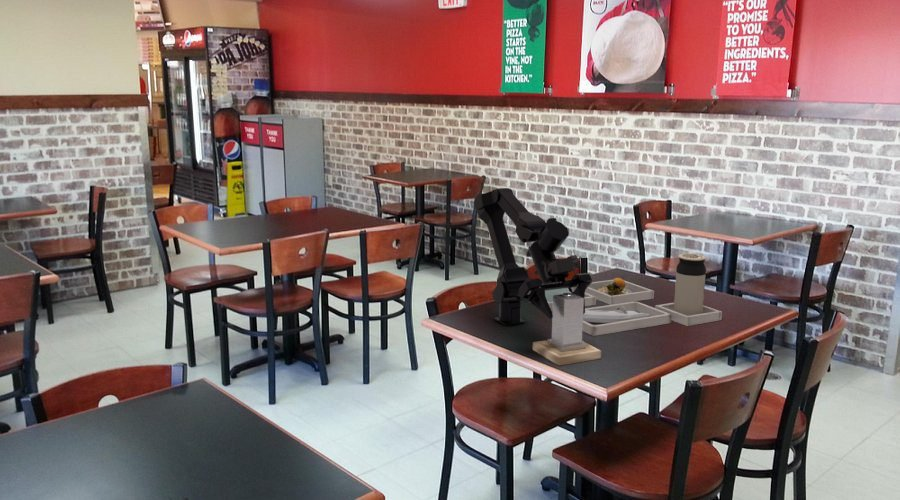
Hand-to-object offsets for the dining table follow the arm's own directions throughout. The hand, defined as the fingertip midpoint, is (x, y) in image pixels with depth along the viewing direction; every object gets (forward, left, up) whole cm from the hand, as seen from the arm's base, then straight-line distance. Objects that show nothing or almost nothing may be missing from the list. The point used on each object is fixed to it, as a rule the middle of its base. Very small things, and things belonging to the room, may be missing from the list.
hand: (567, 315), depth 179 cm
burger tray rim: (-39, +46, -10) cm, 61 cm away
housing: (0, 0, -8) cm, 8 cm away
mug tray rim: (-11, +50, -10) cm, 52 cm away
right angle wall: (-41, +25, -10) cm, 49 cm away
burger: (-39, +46, -10) cm, 61 cm away
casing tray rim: (-16, +28, -10) cm, 34 cm away
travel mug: (-11, +50, -10) cm, 52 cm away
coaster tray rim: (-41, +25, -10) cm, 49 cm away
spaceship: (-19, +29, -10) cm, 36 cm away
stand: (0, 0, -10) cm, 10 cm away
